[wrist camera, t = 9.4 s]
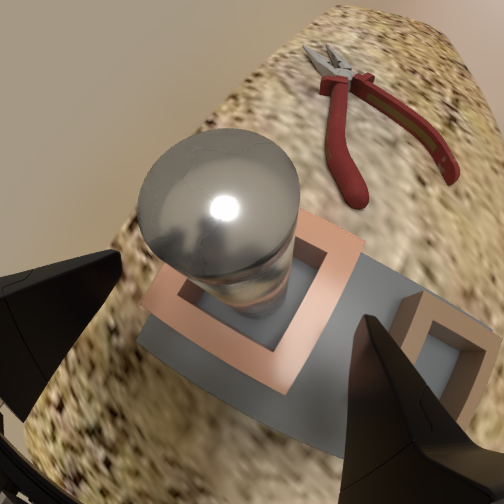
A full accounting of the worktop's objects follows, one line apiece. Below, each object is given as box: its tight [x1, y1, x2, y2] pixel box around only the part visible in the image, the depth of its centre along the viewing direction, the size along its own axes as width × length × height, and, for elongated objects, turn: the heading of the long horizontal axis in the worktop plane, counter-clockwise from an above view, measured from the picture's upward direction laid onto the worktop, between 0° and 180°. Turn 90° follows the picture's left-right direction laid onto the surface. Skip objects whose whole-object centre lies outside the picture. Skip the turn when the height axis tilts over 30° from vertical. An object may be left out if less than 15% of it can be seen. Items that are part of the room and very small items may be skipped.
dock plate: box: [136, 253, 502, 459], centre depth 14 cm, size 12×22×4 cm, turn 60°
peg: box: [137, 128, 300, 319], centre depth 11 cm, size 4×4×12 cm
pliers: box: [303, 45, 460, 209], centre depth 21 cm, size 12×20×3 cm, turn 15°
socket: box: [140, 207, 366, 395], centre depth 15 cm, size 8×8×4 cm
